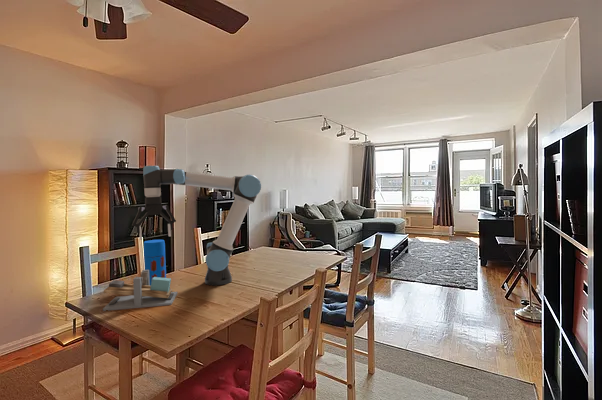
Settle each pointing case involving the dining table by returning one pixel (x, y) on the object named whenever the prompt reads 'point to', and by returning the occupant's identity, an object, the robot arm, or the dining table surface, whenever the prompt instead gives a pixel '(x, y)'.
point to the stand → (139, 298)
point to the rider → (160, 284)
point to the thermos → (155, 258)
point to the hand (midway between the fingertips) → (155, 238)
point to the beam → (128, 289)
